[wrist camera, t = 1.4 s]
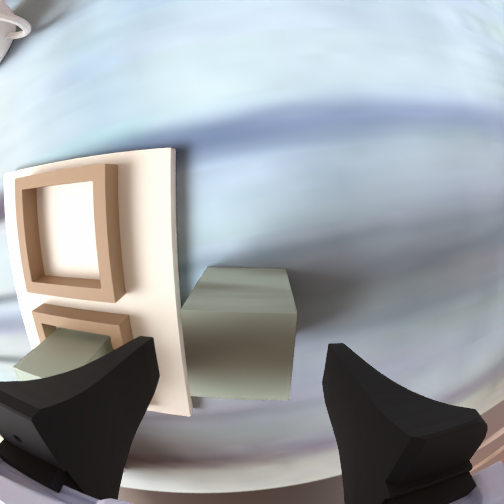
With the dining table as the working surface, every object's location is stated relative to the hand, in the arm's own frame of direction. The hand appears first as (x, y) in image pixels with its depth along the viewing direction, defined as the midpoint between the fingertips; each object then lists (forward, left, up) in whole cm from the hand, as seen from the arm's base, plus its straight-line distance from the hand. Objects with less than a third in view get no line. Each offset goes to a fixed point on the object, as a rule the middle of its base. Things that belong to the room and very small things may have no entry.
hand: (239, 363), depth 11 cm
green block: (0, 0, -6) cm, 6 cm away
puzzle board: (0, +11, -6) cm, 13 cm away
